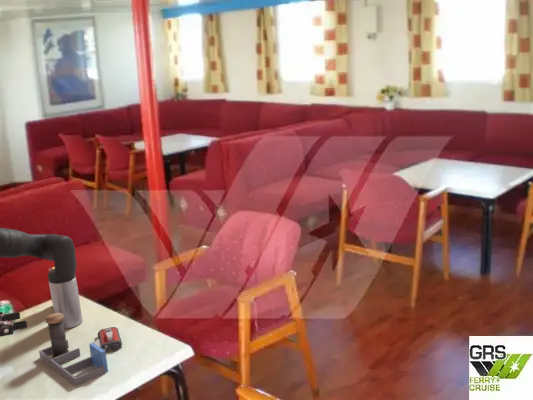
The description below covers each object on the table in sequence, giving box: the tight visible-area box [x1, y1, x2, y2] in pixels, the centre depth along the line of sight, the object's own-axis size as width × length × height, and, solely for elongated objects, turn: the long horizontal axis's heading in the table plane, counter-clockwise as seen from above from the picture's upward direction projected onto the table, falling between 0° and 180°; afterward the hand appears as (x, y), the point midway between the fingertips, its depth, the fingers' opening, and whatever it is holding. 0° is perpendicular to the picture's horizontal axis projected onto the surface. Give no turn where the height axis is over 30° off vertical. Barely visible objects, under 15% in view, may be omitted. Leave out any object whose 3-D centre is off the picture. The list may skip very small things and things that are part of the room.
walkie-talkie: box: [93, 326, 123, 353], centre depth 207 cm, size 9×4×20 cm
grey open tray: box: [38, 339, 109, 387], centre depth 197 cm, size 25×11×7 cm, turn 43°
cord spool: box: [45, 312, 71, 359], centre depth 202 cm, size 6×6×14 cm
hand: (23, 319), depth 194 cm, fingers open, 8 cm apart
